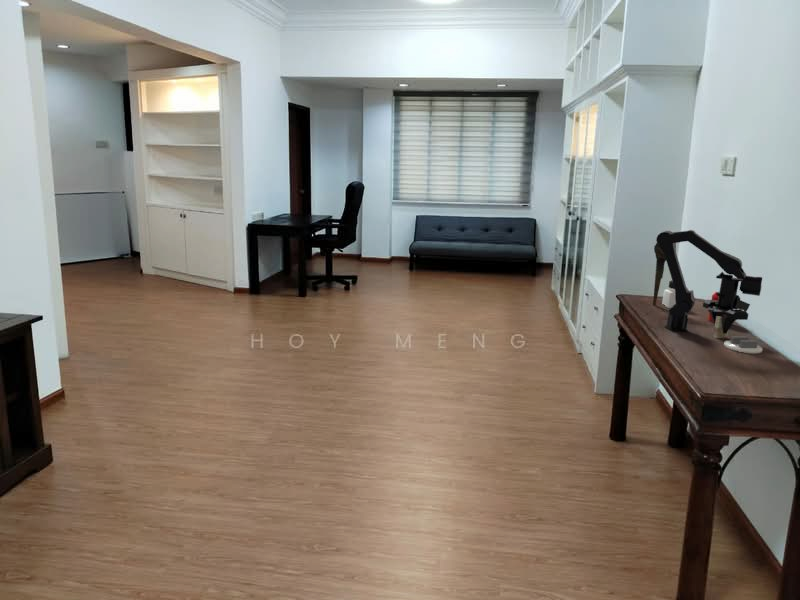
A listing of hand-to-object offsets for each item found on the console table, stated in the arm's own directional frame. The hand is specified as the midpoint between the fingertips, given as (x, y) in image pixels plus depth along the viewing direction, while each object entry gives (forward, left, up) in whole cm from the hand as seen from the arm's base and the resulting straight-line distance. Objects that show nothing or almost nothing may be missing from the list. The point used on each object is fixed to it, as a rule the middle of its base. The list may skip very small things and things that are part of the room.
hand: (720, 331), depth 227 cm
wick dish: (0, -13, -2) cm, 13 cm away
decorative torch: (0, +48, -2) cm, 48 cm away
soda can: (+14, +22, -2) cm, 26 cm away
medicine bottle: (+8, +46, -2) cm, 47 cm away
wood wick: (0, 0, -2) cm, 2 cm away
